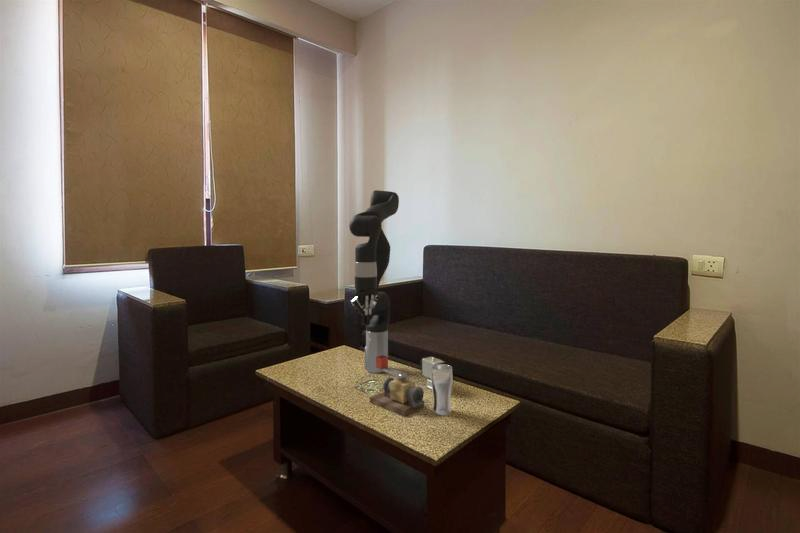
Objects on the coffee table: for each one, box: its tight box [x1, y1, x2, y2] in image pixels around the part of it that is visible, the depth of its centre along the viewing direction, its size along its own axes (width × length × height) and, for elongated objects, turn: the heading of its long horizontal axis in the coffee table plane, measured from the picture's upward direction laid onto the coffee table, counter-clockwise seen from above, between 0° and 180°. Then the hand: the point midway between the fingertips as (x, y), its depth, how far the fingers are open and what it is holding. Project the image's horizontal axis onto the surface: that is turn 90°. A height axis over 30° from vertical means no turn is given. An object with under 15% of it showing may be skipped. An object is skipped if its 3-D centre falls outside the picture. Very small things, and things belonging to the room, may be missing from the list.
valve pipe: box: [369, 376, 425, 417], centre depth 145 cm, size 17×10×10 cm, turn 47°
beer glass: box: [430, 363, 454, 416], centre depth 140 cm, size 7×7×15 cm
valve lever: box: [376, 355, 408, 379], centre depth 148 cm, size 14×3×5 cm, turn 43°
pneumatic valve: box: [419, 356, 447, 390], centre depth 160 cm, size 6×12×12 cm, turn 34°
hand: (365, 325), depth 146 cm, fingers closed
